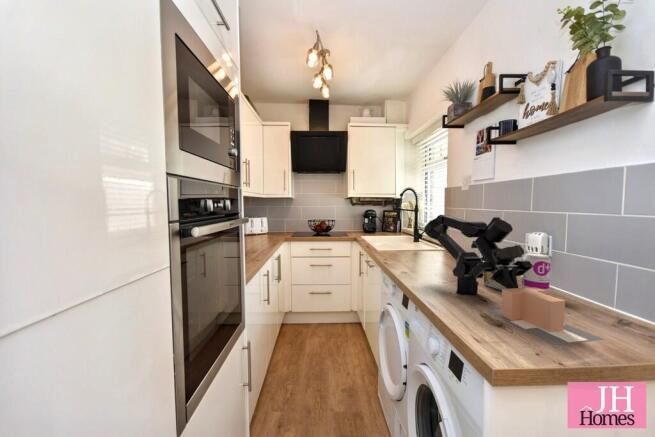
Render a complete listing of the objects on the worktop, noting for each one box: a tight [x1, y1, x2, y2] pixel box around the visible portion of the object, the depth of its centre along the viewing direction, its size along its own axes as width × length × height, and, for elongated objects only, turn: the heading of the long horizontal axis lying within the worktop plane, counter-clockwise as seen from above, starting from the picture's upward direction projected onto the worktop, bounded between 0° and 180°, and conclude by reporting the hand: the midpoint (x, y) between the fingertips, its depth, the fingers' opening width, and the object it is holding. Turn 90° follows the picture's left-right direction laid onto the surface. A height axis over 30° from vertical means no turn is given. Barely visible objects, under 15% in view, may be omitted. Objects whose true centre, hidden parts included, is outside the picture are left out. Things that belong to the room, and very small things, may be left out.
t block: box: [500, 287, 566, 332], centre depth 77 cm, size 12×12×8 cm
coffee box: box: [483, 247, 515, 291], centre depth 111 cm, size 9×6×16 cm
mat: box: [485, 308, 605, 346], centre depth 76 cm, size 22×15×1 cm
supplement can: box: [521, 252, 552, 296], centre depth 103 cm, size 8×8×15 cm
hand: (517, 293), depth 82 cm, fingers closed
